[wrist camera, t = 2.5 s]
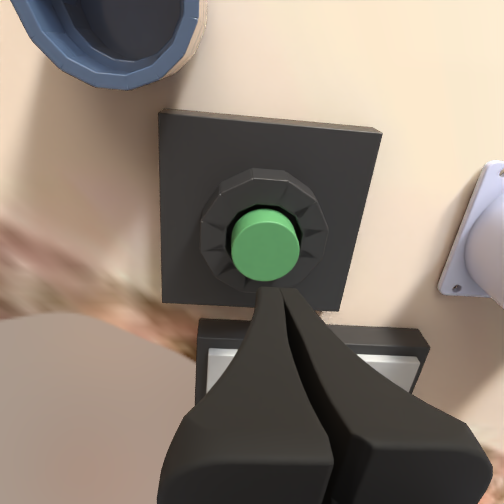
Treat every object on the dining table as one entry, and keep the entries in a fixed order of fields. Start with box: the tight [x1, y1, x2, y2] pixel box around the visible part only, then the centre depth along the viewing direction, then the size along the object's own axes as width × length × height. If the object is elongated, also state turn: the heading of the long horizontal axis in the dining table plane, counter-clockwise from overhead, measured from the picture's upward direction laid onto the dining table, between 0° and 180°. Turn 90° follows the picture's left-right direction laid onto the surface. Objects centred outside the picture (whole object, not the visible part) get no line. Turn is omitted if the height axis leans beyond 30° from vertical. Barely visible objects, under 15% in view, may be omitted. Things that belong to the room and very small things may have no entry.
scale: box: [195, 319, 430, 405], centre depth 26 cm, size 14×12×2 cm
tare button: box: [231, 208, 300, 281], centre depth 17 cm, size 3×3×2 cm
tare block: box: [158, 108, 382, 312], centre depth 19 cm, size 10×10×3 cm
